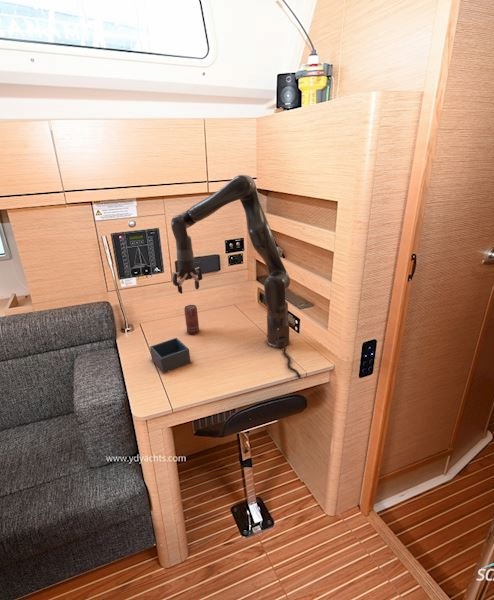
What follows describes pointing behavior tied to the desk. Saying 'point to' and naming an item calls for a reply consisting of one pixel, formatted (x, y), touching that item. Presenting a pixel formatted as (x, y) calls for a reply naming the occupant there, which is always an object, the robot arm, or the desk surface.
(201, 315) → the desk surface
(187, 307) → the can
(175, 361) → the bin
